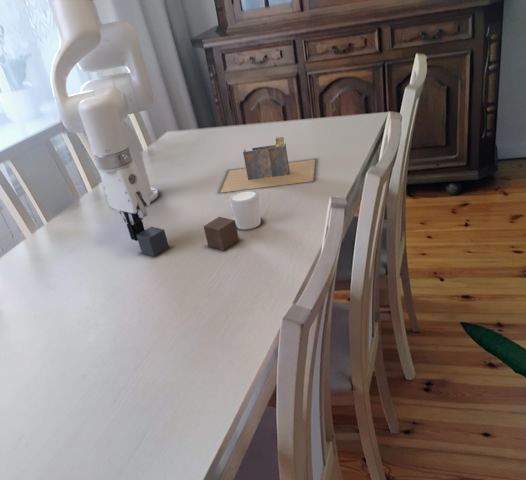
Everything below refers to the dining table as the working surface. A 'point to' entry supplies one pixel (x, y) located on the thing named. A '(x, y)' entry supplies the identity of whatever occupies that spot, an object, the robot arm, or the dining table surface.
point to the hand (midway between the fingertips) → (139, 237)
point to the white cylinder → (246, 209)
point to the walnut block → (221, 233)
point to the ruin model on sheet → (268, 169)
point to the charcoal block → (152, 241)
